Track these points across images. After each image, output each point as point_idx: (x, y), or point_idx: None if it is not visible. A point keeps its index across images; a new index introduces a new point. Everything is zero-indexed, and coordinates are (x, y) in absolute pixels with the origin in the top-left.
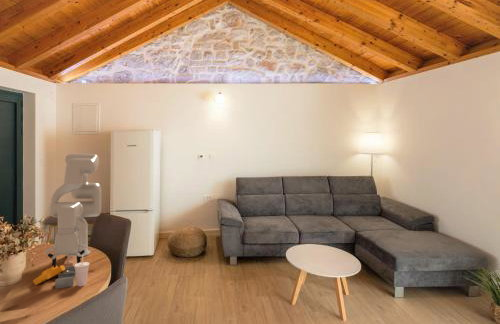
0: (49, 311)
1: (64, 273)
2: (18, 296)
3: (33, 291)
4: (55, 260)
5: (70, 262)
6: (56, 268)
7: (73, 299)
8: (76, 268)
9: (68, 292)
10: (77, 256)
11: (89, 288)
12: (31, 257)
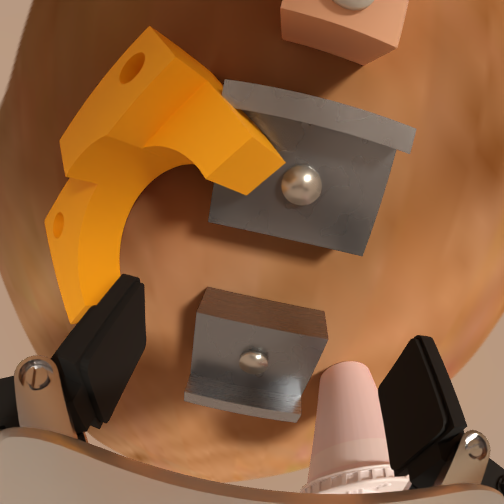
0: (193, 470)
1: (266, 221)
2: (52, 328)
3: None
4: (110, 415)
5: (370, 12)
6: (174, 148)
7: (267, 460)
8: None
9: (260, 419)
10: (412, 458)
11: None
12: None
